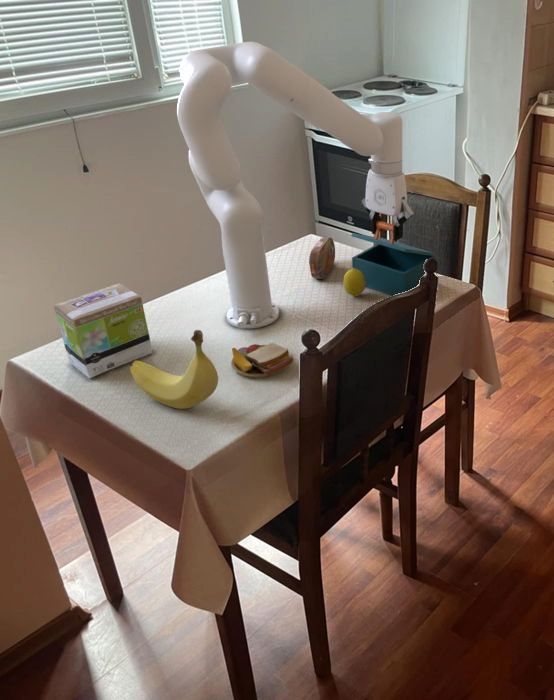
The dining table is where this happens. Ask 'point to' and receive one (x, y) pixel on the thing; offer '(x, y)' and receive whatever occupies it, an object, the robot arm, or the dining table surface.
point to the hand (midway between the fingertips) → (387, 235)
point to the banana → (179, 380)
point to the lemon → (354, 282)
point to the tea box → (103, 329)
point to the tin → (322, 258)
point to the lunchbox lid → (390, 242)
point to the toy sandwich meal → (260, 360)
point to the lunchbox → (390, 269)
